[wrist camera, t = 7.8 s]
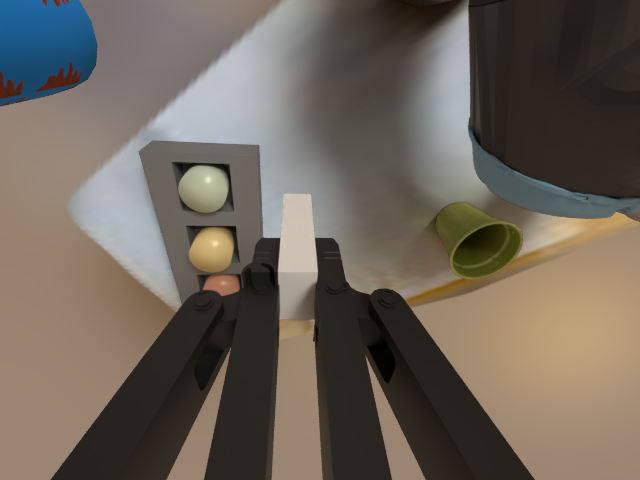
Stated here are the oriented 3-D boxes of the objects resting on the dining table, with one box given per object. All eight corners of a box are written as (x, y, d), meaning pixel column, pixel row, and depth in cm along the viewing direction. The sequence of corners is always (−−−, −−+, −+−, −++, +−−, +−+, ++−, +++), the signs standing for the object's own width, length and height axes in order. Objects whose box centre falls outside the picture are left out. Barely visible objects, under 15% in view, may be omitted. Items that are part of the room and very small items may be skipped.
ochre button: (193, 222, 36) (185, 240, 33) (233, 223, 37) (229, 240, 34) (200, 253, 39) (192, 272, 36) (237, 253, 40) (233, 272, 37)
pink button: (205, 264, 42) (198, 283, 39) (240, 264, 43) (236, 282, 39) (210, 289, 45) (204, 308, 41) (242, 288, 45) (239, 307, 42)
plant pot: (446, 252, 48) (474, 289, 40) (411, 224, 43) (436, 259, 36) (494, 213, 44) (535, 246, 37) (462, 178, 40) (501, 207, 33)
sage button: (184, 158, 33) (173, 170, 30) (228, 159, 34) (223, 172, 30) (192, 197, 36) (183, 212, 33) (233, 197, 36) (228, 213, 33)
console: (153, 140, 33) (138, 151, 29) (259, 145, 34) (256, 156, 31) (190, 291, 46) (183, 309, 43) (265, 289, 48) (264, 307, 44)
